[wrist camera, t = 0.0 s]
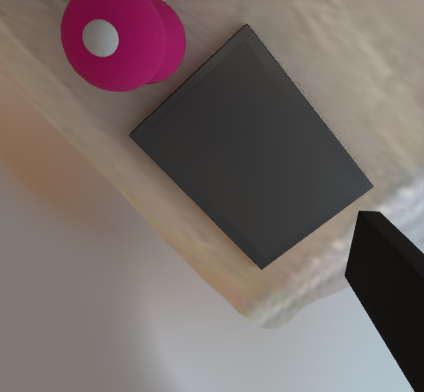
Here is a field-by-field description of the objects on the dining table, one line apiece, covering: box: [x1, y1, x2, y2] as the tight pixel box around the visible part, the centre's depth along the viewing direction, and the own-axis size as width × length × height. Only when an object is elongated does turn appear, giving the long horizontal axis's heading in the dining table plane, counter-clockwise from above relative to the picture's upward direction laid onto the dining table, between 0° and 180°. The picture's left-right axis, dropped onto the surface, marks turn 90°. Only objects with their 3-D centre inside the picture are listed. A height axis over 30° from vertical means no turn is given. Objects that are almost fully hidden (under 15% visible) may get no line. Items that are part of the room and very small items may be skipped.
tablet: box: [129, 24, 374, 270], centre depth 41 cm, size 22×16×1 cm
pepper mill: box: [61, 0, 186, 92], centre depth 28 cm, size 7×7×20 cm
